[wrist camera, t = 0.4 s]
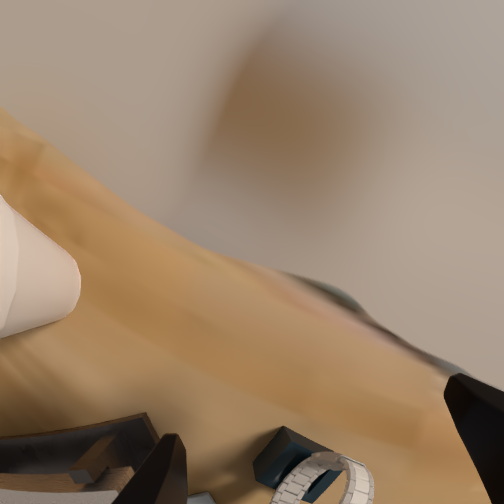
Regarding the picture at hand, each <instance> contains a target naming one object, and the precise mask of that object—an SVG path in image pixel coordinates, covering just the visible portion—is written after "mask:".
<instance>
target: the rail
mask: <svg viewBox="0 0 504 504" xmlns="http://www.w3.org/2000/svg"><path fill="white" fill-rule="evenodd" d="M134 474H135V473H134V471H133V469H132V468H131V466H128V467H122V468H115V469H108V470H104V471H103V472H102V473H101V475H100V476H99V477H98V479H97V480H96V481H95V483H83V484H75V483H74V481H73V480H72V478H71V477H70V475H69V473H64V474H7V473H0V504H111V503H112V502H113V501H114V499H115V498H116V497H117V496H118V494H119V493H120V492H121V491H122V489H123V488H124V487H125V485H126V484H127V483H128V481H129V480H130V479H131V478H132V476H133V475H134Z"/></svg>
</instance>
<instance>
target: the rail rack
mask: <svg viewBox="0 0 504 504" xmlns="http://www.w3.org/2000/svg"><path fill="white" fill-rule="evenodd" d="M159 440H160V439H159V437H158V435H157V433H156V431H155V429H154V427H153V425H152V423H151V421H150V419H149V417H148V415H147V413H146V412H145V413H141V414H137V415H133V416H129V417H125V418H121V419H116V420H112V421H107V422H102V423H98V424H93V425H88V426H82V427H77V428H71V429H65V430H59V431H52V432H45V433H37V434H29V435H19V436H8V437H0V473H7V474H64V473H69V475H70V477H71V478H72V480H73V481H74V483H75V484H83V483H95V481H96V480H97V479H98V477H99V476H100V475H101V473H102V472H103V471H104V470H108V469H115V468H122V467H128V466H131V468H132V469H133V471H134V473H135V472H136V471H137V470H138V468H139V467H140V466H141V464H142V463H143V462H144V460H145V459H146V458H147V456H148V455H149V454H150V452H151V451H152V450H153V448H154V447H155V446H156V444H157V443H158V442H159Z"/></svg>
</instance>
